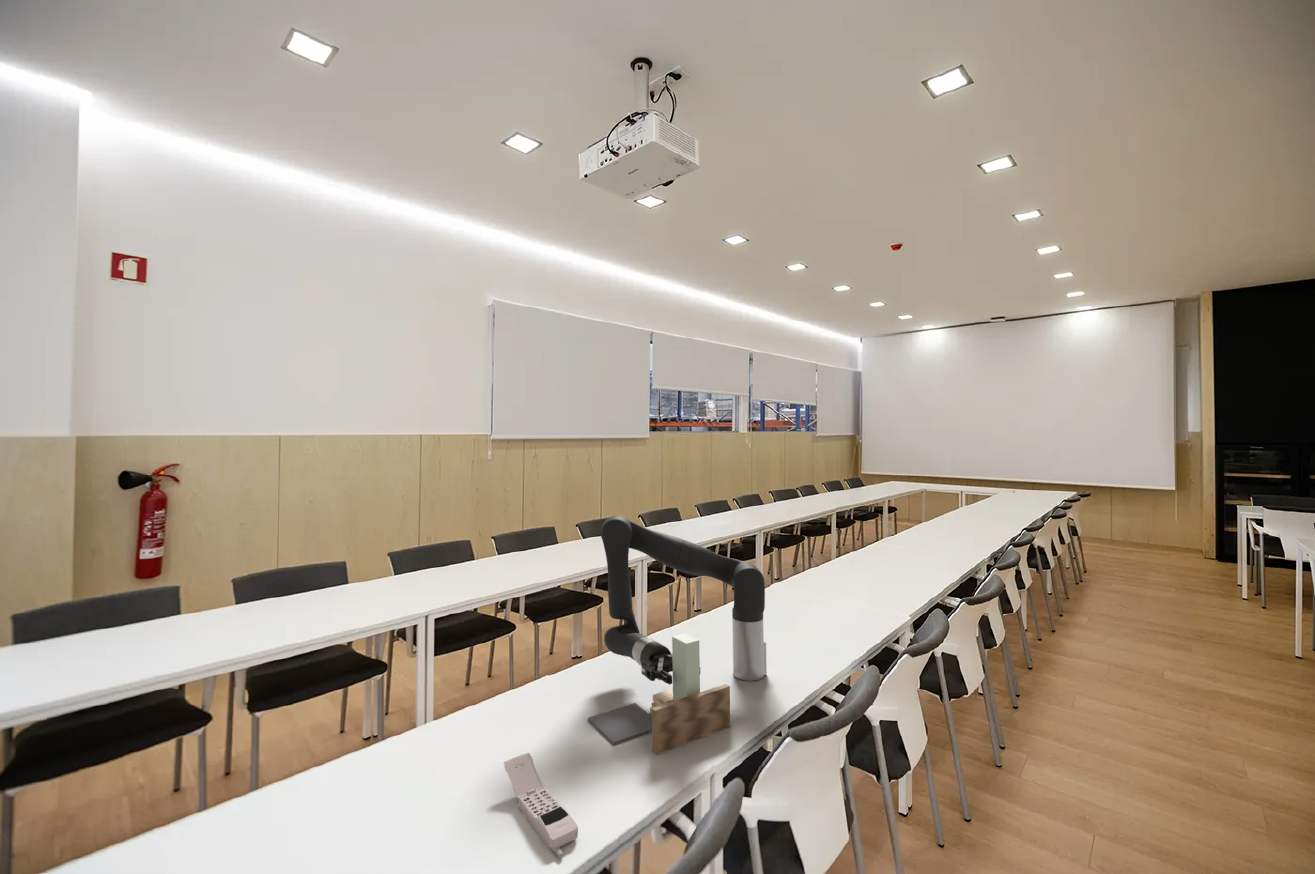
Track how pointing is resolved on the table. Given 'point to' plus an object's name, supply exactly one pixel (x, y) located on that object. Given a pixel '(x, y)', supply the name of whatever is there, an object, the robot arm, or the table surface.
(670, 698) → the offcut stack
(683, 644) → the sage green pillar
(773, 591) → the table surface
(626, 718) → the charcoal mat
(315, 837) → the table surface
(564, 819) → the mobile phone
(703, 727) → the walnut rack
